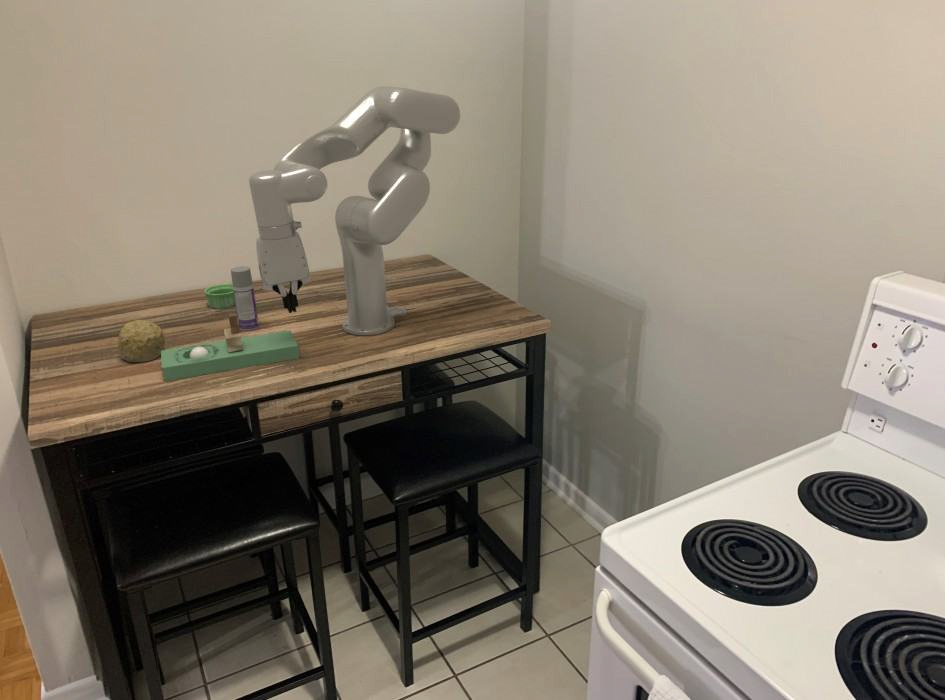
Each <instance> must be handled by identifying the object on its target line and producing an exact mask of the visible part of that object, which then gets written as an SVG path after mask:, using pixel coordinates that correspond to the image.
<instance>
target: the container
mask: <svg viewBox="0 0 945 700" xmlns="http://www.w3.org/2000/svg"><path fill="white" fill-rule="evenodd" d="M230 273H231V274H230V276H231V284H233V292H234V298H235V304H236V306H235V308H236V309H235V310H236V315H237V319H238V326H239V331H242V332H251V331H255V330H257V329H259V328H260V324H259V317H258V310H257V303H256V296H255V289H254V284H253V278H252V277H253V276H252V272H251V267H249V266H245V265H243V266H235V267H232V268H231V269H230Z"/></svg>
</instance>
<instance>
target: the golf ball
mask: <svg viewBox="0 0 945 700" xmlns="http://www.w3.org/2000/svg"><path fill="white" fill-rule="evenodd" d="M208 354H209V352H208V350H207V349H205V348H203V347H196V348H194V349H193V350H192V351H191V353H190V359H196V358H201V357H204V356H206V355H208Z"/></svg>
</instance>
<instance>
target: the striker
mask: <svg viewBox="0 0 945 700" xmlns="http://www.w3.org/2000/svg"><path fill="white" fill-rule="evenodd" d="M227 315H228V320H229V326H230V327H228V328H223V333H224V339H225V340H224V341H226V345H227V349H228V352H233V351H239V350H243V348H242V341H241V338H242V336H241V333H240V329H239V323H238V317H237V312H232V313H228V314H227Z"/></svg>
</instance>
